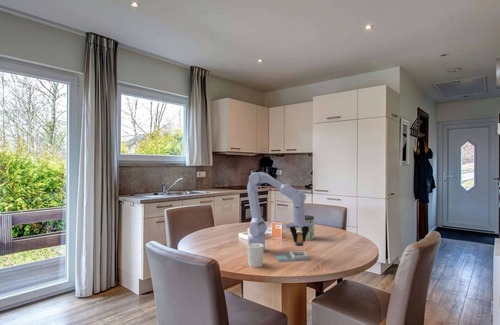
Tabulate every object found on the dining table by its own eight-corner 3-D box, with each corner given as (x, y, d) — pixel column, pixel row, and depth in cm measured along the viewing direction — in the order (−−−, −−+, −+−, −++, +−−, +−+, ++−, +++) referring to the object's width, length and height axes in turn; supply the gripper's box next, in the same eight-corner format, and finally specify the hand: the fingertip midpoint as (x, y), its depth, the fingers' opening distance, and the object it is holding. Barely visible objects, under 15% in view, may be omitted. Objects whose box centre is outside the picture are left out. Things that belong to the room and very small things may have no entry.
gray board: (279, 264, 139) (279, 259, 139) (273, 255, 153) (273, 250, 153) (311, 262, 142) (311, 257, 142) (302, 253, 156) (302, 249, 156)
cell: (296, 246, 146) (296, 233, 146) (294, 244, 150) (294, 231, 150) (304, 245, 146) (304, 232, 146) (302, 243, 150) (301, 231, 150)
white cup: (263, 263, 141) (262, 242, 141) (264, 269, 133) (264, 247, 133) (247, 263, 141) (246, 243, 141) (247, 269, 133) (247, 247, 133)
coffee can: (297, 236, 192) (297, 215, 193) (313, 236, 191) (312, 215, 192) (298, 240, 182) (298, 218, 182) (315, 240, 181) (314, 218, 181)
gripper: (287, 217, 143) (287, 244, 143) (315, 216, 145) (315, 243, 145) (283, 214, 150) (284, 240, 150) (310, 213, 152) (310, 239, 152)
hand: (299, 241), depth 148 cm, fingers closed on cell, 4 cm apart
